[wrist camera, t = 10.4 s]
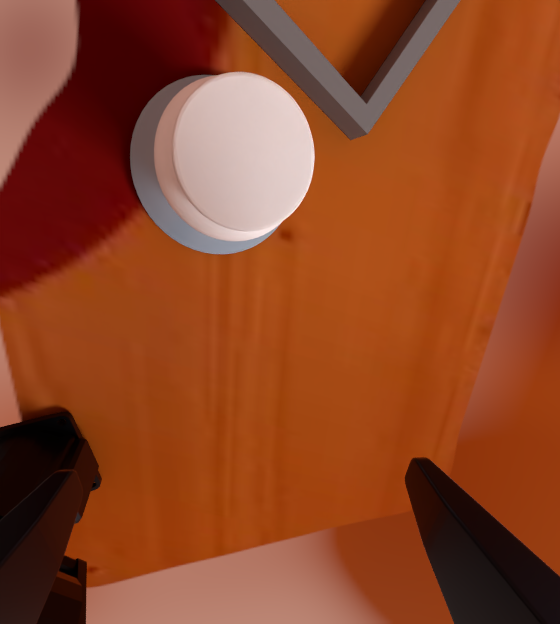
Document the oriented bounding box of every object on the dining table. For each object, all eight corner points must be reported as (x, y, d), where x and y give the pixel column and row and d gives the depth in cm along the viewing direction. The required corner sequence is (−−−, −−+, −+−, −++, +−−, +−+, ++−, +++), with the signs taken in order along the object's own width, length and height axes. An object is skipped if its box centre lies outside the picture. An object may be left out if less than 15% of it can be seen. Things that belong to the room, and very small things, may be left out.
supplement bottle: (157, 212, 17) (125, 229, 8) (174, 103, 16) (157, -16, 7) (252, 236, 19) (308, 271, 10) (275, 140, 18) (363, 83, 9)
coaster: (158, 264, 19) (157, 266, 18) (107, 85, 15) (104, 80, 15) (300, 239, 21) (303, 240, 20) (283, 73, 17) (287, 69, 17)
